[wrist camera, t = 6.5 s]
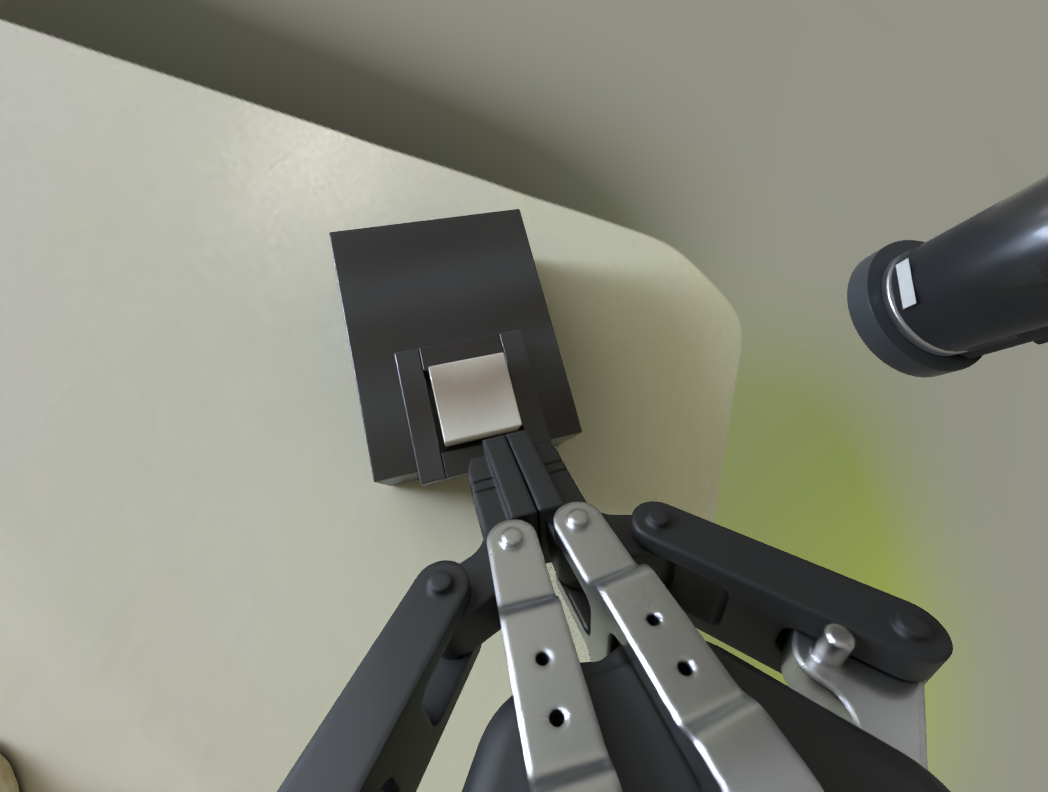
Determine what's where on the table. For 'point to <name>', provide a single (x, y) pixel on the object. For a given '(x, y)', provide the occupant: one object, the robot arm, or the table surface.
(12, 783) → the hand bell
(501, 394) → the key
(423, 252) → the black square panel
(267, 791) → the table surface
